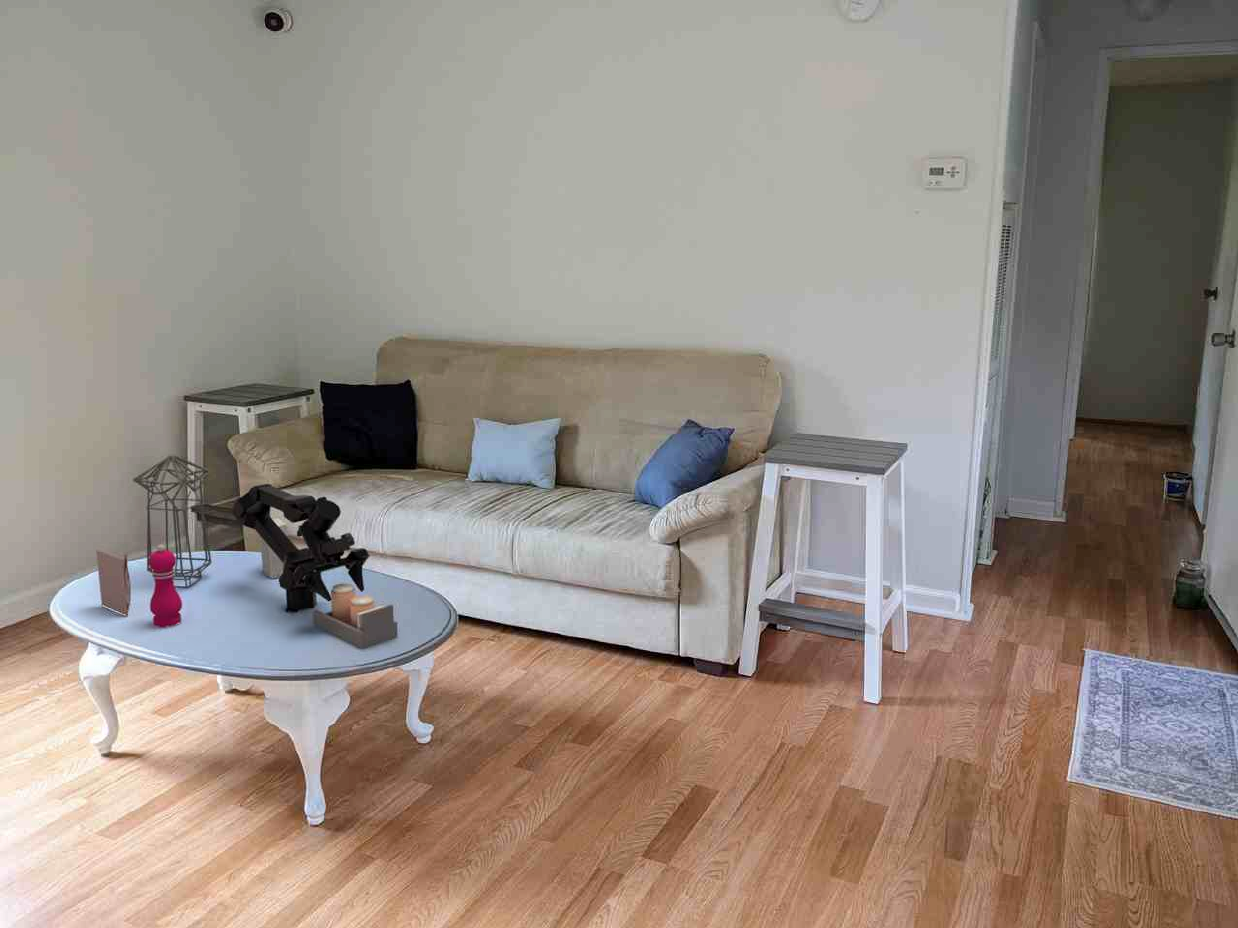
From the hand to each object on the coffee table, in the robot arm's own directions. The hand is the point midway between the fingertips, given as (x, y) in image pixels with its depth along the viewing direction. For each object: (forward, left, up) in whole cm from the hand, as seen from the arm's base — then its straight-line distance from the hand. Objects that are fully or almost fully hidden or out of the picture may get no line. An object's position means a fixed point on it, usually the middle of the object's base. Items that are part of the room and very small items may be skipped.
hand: (346, 595), depth 255 cm
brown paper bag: (-61, +8, -9) cm, 62 cm away
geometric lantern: (-54, +30, -9) cm, 62 cm away
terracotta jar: (-1, +1, -8) cm, 8 cm away
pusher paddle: (+8, -7, -8) cm, 13 cm away
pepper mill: (-45, +1, -9) cm, 46 cm away
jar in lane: (+5, -4, -8) cm, 10 cm away
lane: (+2, -2, -9) cm, 9 cm away
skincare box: (-31, +38, -9) cm, 50 cm away
